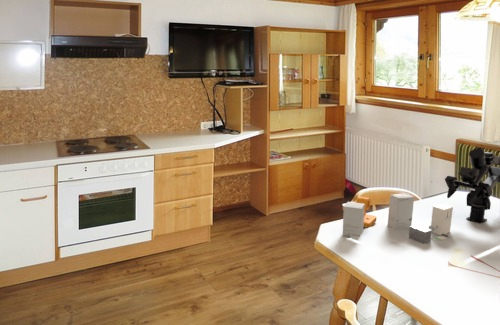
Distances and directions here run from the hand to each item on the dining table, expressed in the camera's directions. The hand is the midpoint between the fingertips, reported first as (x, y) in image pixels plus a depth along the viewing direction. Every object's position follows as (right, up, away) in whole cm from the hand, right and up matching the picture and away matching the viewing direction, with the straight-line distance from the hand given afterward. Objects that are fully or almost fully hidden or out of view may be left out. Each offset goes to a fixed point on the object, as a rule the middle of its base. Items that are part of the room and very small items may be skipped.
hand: (457, 199), depth 186 cm
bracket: (-37, -12, +9) cm, 40 cm away
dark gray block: (-20, -15, -11) cm, 27 cm away
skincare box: (-23, -13, +4) cm, 27 cm away
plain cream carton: (-9, -13, -5) cm, 17 cm away
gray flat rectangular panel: (-14, -15, -6) cm, 22 cm away
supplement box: (-45, -14, -2) cm, 47 cm away
